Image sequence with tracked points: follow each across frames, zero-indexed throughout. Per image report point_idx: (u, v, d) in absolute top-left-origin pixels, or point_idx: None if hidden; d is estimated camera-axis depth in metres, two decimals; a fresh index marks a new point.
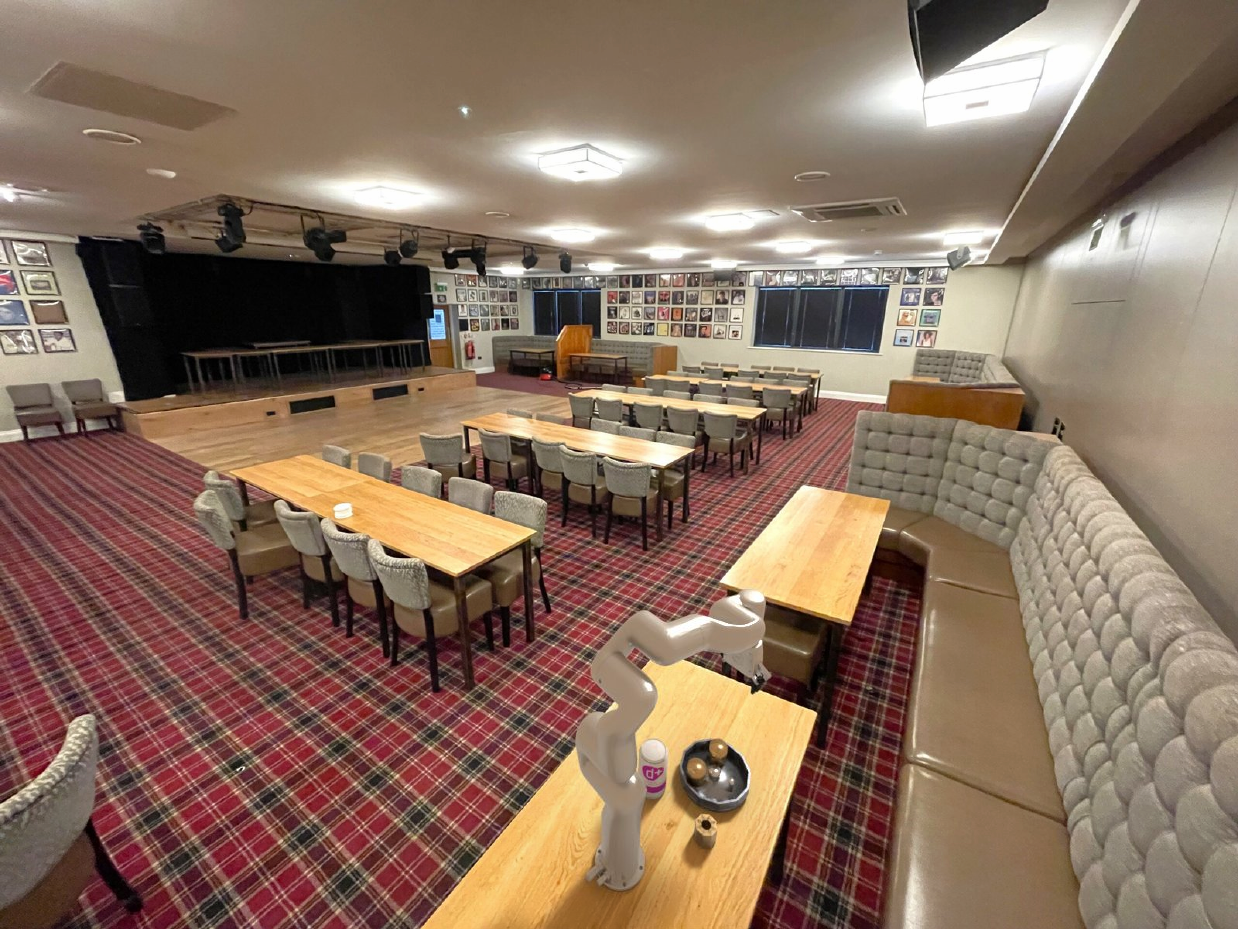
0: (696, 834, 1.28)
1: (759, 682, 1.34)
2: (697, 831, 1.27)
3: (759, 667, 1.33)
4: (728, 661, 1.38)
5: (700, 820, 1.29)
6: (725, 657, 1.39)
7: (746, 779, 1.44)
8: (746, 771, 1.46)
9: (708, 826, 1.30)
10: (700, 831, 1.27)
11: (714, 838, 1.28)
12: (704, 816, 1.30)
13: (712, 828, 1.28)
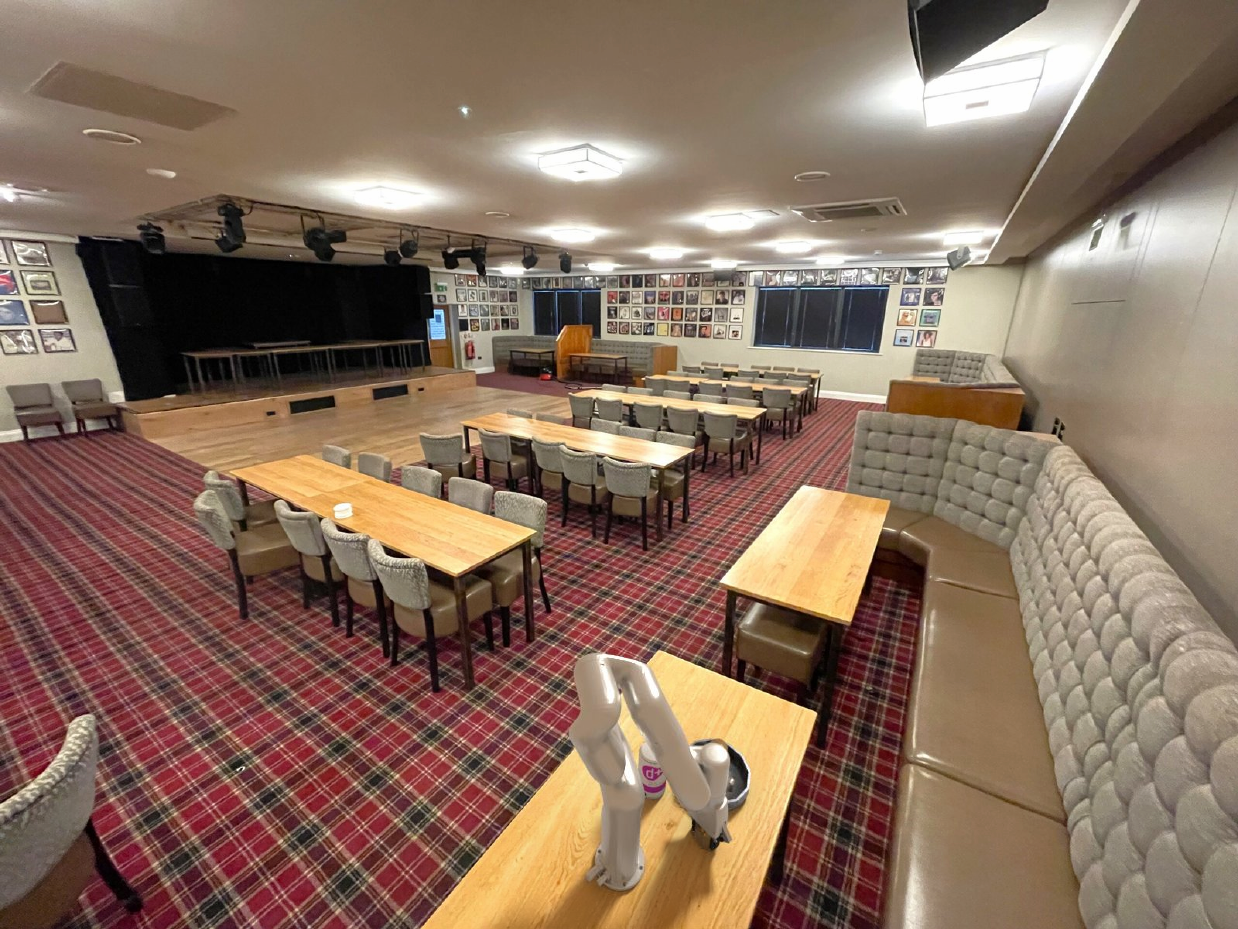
0: (696, 834, 1.28)
1: (717, 840, 1.25)
2: (697, 831, 1.27)
3: (723, 832, 1.23)
4: (691, 815, 1.28)
5: None
6: (688, 810, 1.28)
7: (746, 779, 1.44)
8: (746, 771, 1.46)
9: None
10: (700, 831, 1.27)
11: None
12: None
13: None
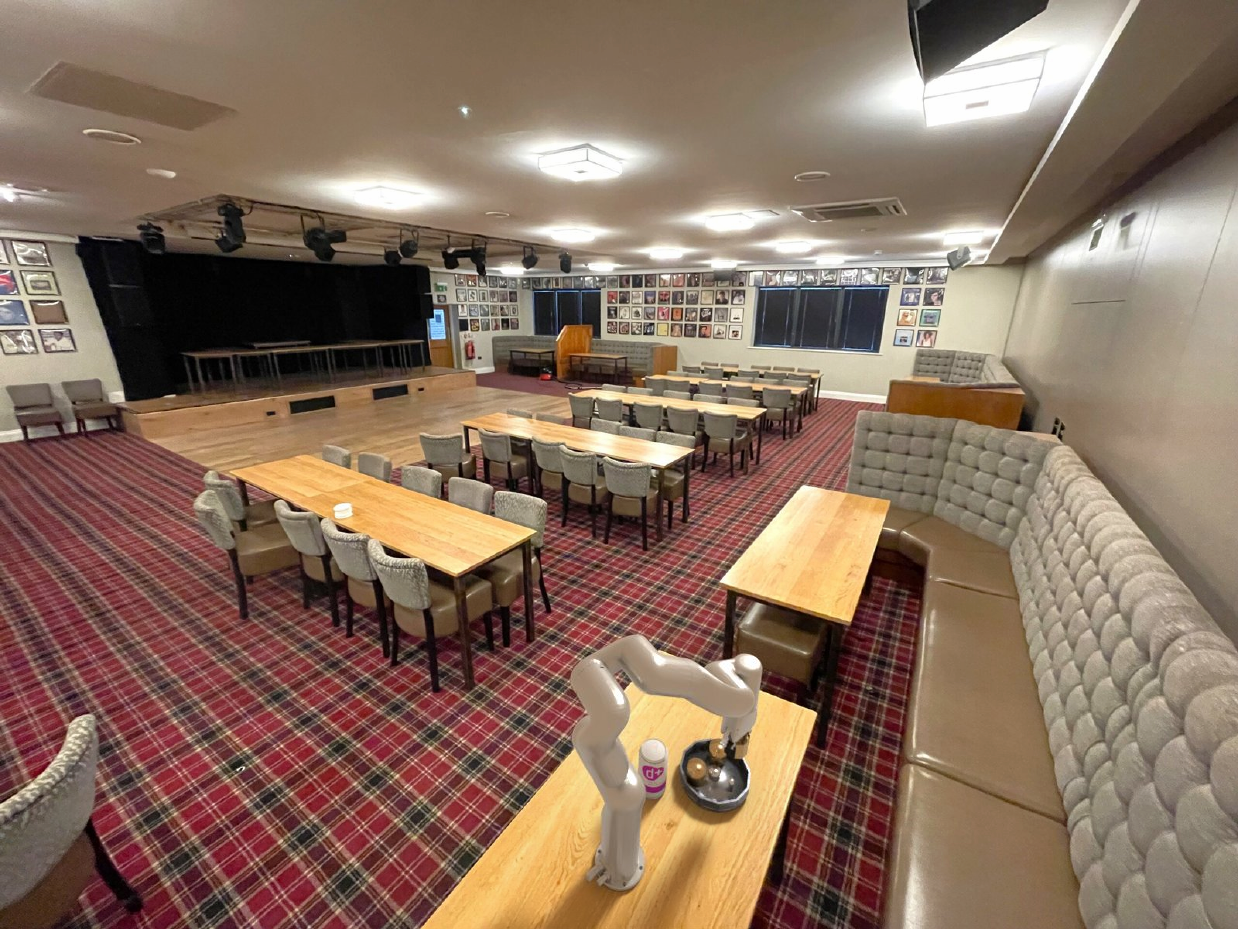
0: None
1: None
2: None
3: None
4: None
5: None
6: None
7: (746, 779, 1.44)
8: (746, 771, 1.46)
9: None
10: None
11: None
12: (745, 735, 1.34)
13: None
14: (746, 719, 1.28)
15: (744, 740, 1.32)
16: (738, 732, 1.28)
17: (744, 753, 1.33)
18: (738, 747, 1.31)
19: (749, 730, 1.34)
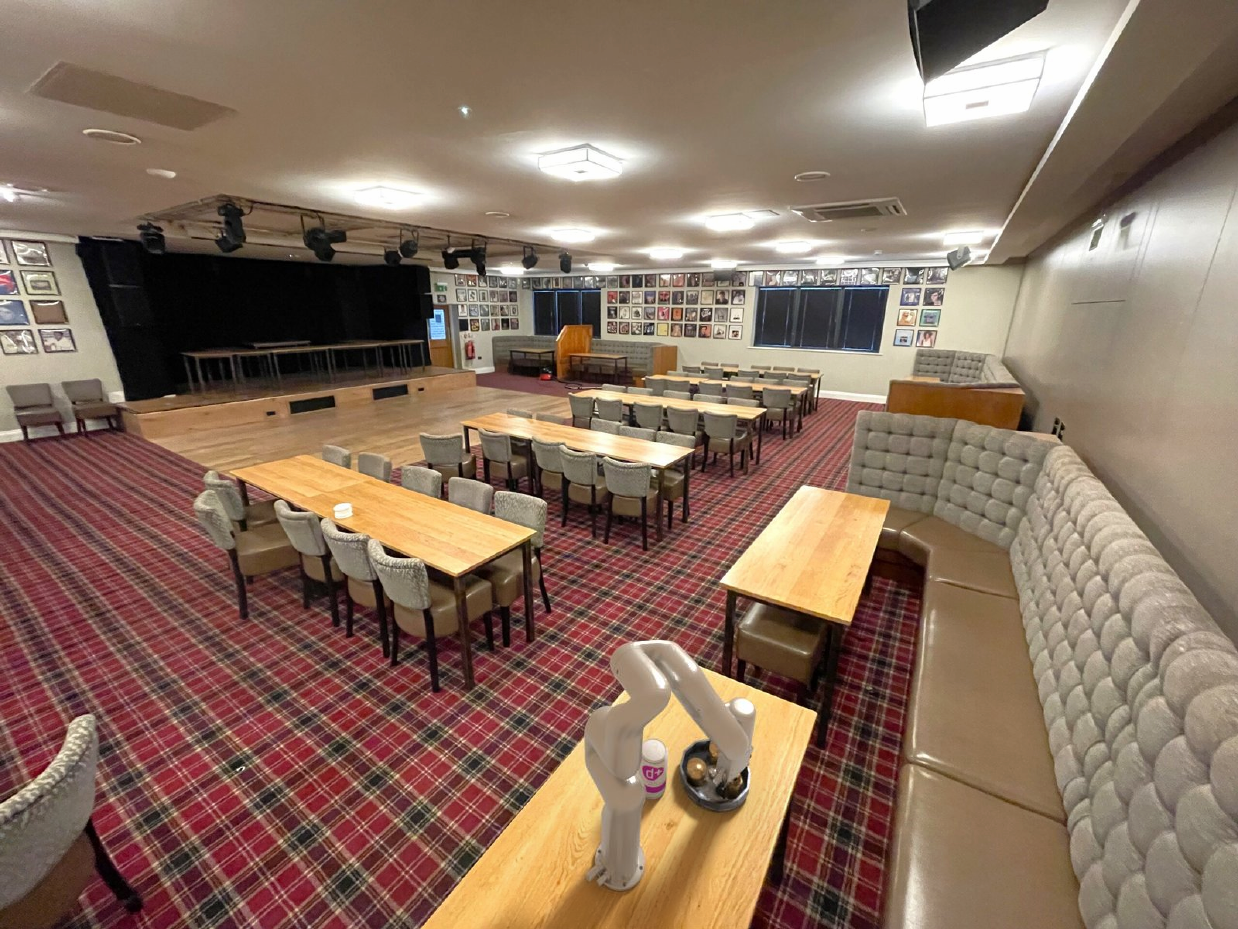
0: None
1: None
2: None
3: None
4: None
5: None
6: None
7: (746, 779, 1.44)
8: None
9: None
10: None
11: None
12: (739, 777, 1.40)
13: (730, 782, 1.38)
14: (740, 760, 1.33)
15: (738, 782, 1.38)
16: (732, 772, 1.33)
17: (738, 794, 1.39)
18: (732, 789, 1.37)
19: (747, 763, 1.41)
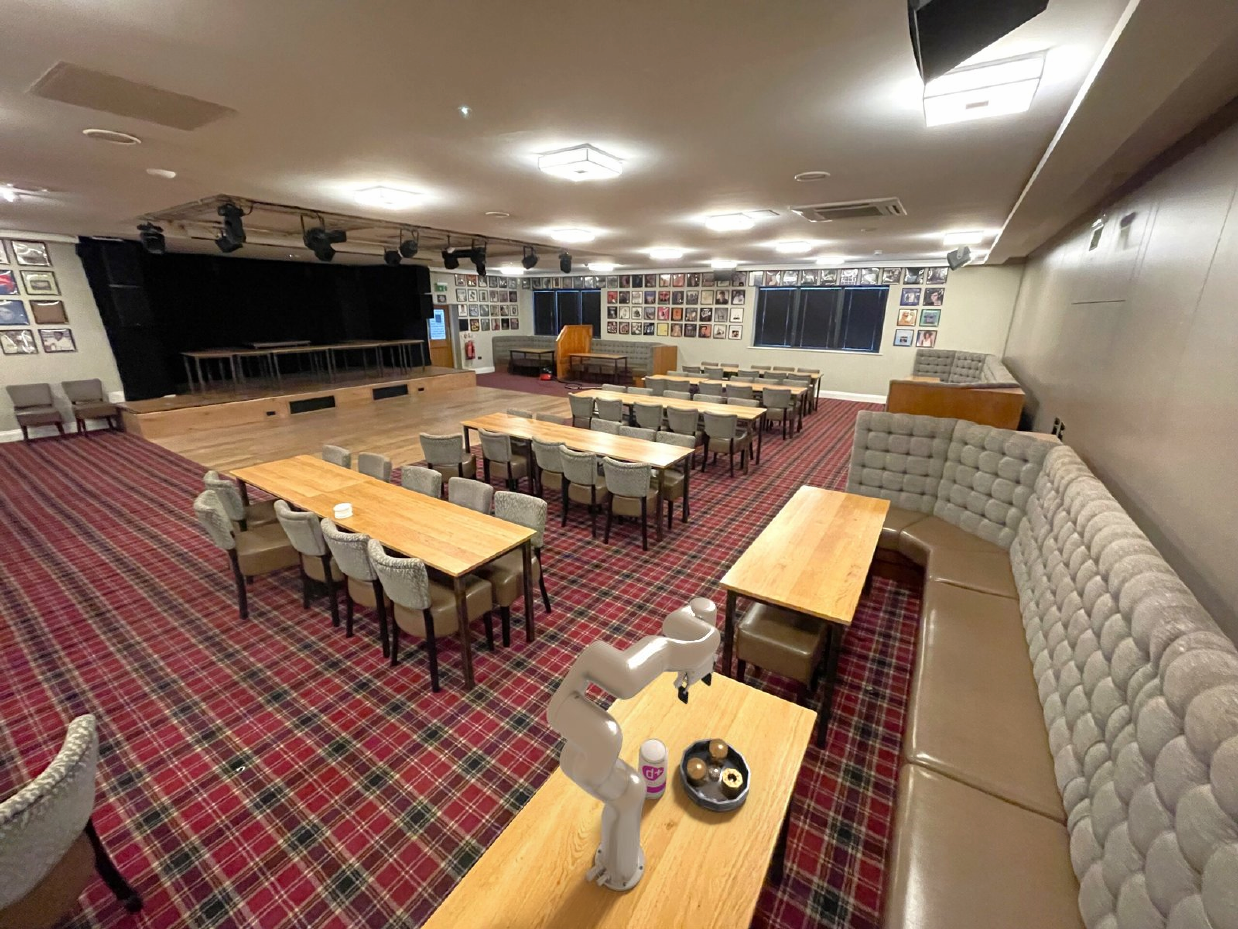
0: None
1: None
2: None
3: None
4: None
5: (735, 773, 1.41)
6: None
7: (746, 779, 1.44)
8: (746, 771, 1.46)
9: None
10: (725, 771, 1.41)
11: (726, 790, 1.38)
12: (739, 777, 1.40)
13: (730, 782, 1.38)
14: None
15: (738, 782, 1.38)
16: (694, 674, 1.30)
17: (738, 794, 1.39)
18: (732, 789, 1.37)
19: (711, 670, 1.38)
